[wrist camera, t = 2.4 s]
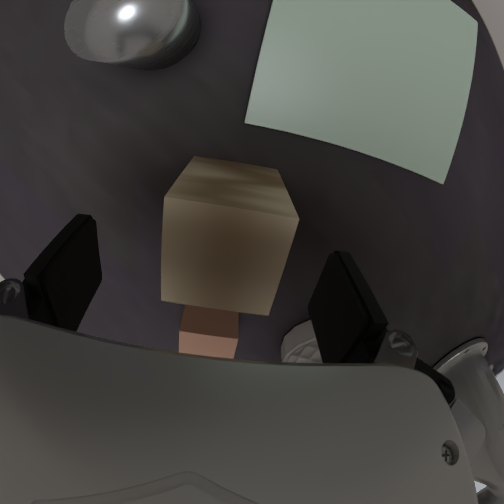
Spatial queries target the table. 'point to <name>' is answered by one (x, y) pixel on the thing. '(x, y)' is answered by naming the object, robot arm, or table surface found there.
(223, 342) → the terracotta cube
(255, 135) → the table surface
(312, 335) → the white cup
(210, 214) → the maple block
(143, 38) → the grey metal cylinder
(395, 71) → the sage plate
